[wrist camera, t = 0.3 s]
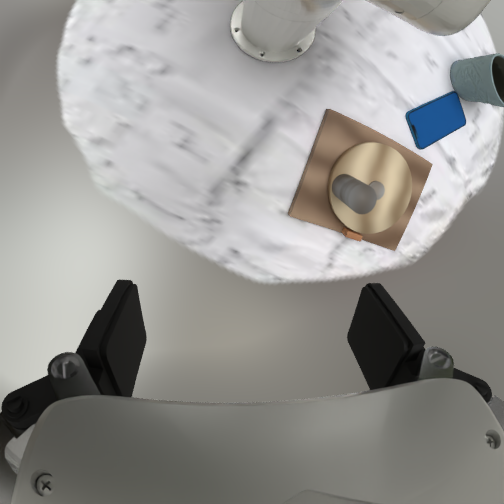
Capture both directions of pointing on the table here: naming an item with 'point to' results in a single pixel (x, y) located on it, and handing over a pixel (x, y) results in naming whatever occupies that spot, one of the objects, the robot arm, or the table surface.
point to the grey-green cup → (480, 79)
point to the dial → (370, 187)
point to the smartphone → (435, 119)
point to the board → (319, 168)
